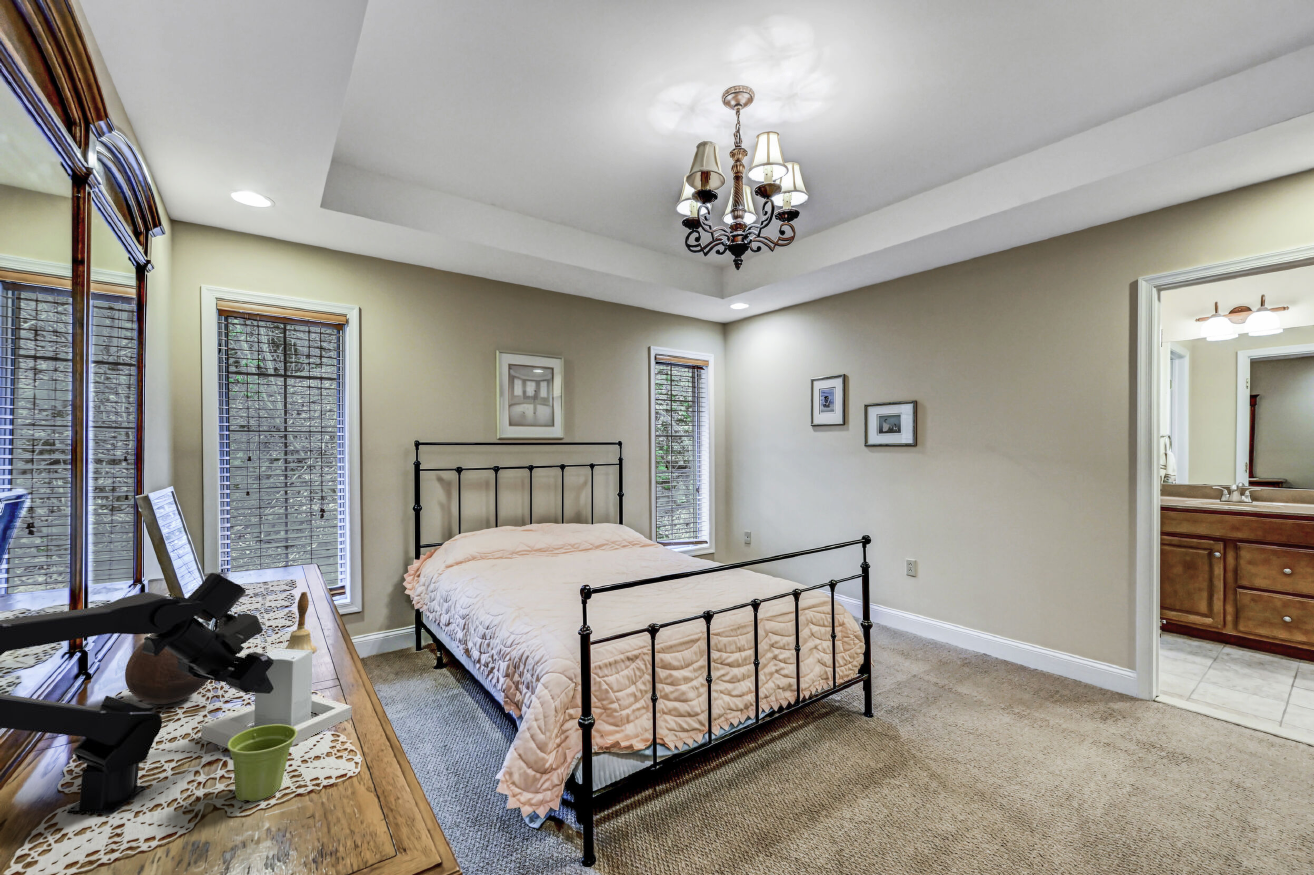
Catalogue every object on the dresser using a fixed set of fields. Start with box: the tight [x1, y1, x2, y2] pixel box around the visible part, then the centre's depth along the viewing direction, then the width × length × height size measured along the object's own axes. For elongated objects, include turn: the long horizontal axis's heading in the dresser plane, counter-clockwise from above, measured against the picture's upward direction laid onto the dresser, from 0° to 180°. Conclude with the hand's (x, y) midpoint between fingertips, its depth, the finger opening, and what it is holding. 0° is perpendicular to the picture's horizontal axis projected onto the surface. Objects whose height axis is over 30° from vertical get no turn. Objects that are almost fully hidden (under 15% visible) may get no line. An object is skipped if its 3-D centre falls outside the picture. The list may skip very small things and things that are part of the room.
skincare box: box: [253, 647, 313, 728], centre depth 113 cm, size 8×6×15 cm
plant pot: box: [227, 724, 297, 802], centre depth 93 cm, size 9×9×9 cm
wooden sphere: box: [124, 641, 209, 705], centre depth 122 cm, size 15×15×15 cm
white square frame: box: [200, 694, 353, 749], centre depth 113 cm, size 18×17×2 cm
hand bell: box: [284, 591, 318, 654], centre depth 154 cm, size 8×8×16 cm
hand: (255, 686), depth 109 cm, fingers open, 9 cm apart
